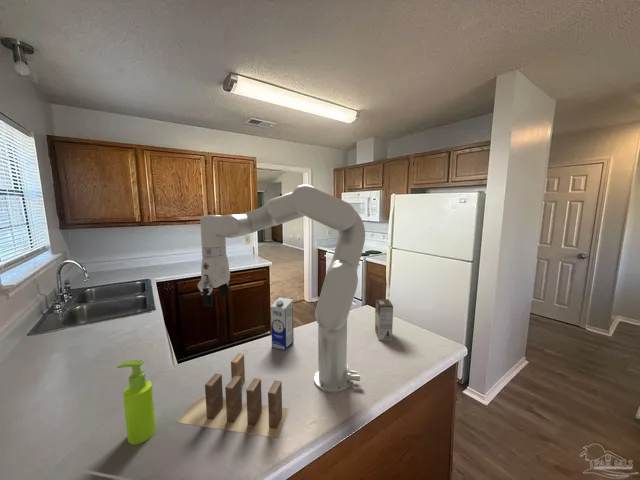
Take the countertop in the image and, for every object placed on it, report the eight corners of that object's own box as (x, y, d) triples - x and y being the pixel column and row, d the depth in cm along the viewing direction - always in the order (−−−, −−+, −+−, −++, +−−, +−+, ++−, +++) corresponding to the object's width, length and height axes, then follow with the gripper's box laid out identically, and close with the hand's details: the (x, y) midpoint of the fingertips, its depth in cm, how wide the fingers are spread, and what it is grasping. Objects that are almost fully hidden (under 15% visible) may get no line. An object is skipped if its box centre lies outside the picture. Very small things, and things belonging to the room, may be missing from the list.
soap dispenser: (132, 427, 70) (126, 356, 68) (159, 425, 70) (154, 355, 68) (117, 446, 64) (110, 369, 62) (147, 444, 64) (141, 368, 62)
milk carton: (294, 343, 114) (293, 298, 112) (285, 350, 108) (284, 304, 106) (280, 340, 117) (279, 296, 115) (271, 347, 111) (270, 301, 109)
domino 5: (282, 414, 73) (281, 381, 72) (276, 428, 69) (275, 393, 67) (275, 413, 74) (274, 380, 73) (268, 427, 69) (267, 392, 68)
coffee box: (374, 331, 125) (375, 298, 123) (387, 331, 125) (388, 298, 123) (378, 340, 116) (379, 305, 114) (392, 340, 116) (393, 305, 114)
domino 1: (223, 406, 77) (221, 374, 75) (213, 419, 72) (211, 385, 71) (216, 405, 77) (215, 373, 76) (206, 418, 72) (204, 384, 71)
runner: (289, 409, 76) (289, 408, 76) (278, 439, 66) (278, 437, 66) (199, 397, 81) (199, 396, 81) (176, 423, 71) (176, 422, 71)
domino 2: (245, 382, 88) (244, 353, 87) (237, 392, 83) (236, 362, 82) (239, 381, 88) (238, 353, 87) (232, 391, 84) (230, 361, 83)
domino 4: (261, 411, 74) (261, 378, 73) (254, 425, 70) (253, 390, 68) (255, 410, 75) (254, 378, 74) (247, 424, 70) (246, 389, 69)
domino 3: (242, 409, 76) (241, 376, 74) (233, 422, 71) (232, 388, 70) (235, 408, 76) (234, 375, 75) (226, 421, 71) (225, 387, 70)
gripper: (208, 256, 79) (211, 311, 80) (237, 248, 96) (239, 294, 97) (186, 255, 80) (189, 309, 82) (218, 248, 97) (220, 293, 99)
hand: (216, 301), depth 90 cm, fingers open, 9 cm apart
